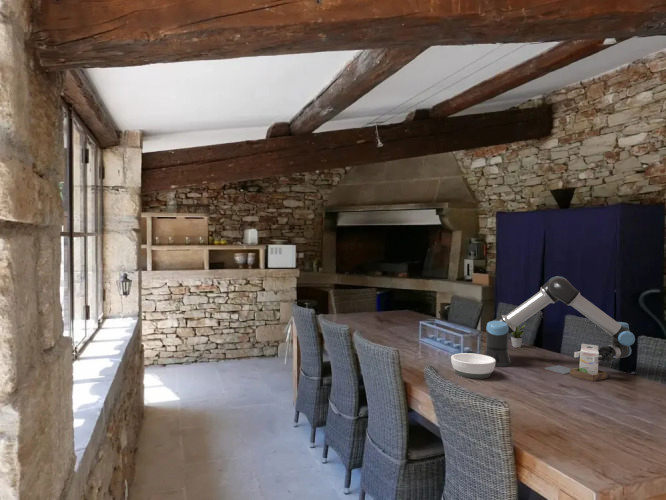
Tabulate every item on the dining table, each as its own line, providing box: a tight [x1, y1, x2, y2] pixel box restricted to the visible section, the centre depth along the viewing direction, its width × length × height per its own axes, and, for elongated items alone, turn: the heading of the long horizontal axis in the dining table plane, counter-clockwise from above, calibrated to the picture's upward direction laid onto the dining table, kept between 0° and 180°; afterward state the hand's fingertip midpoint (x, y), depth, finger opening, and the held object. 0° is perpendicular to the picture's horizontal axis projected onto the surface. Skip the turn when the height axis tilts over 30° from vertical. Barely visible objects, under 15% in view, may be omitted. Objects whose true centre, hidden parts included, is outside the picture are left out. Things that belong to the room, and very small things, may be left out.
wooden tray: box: [569, 366, 608, 382], centre depth 255 cm, size 12×12×3 cm
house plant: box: [510, 323, 526, 348], centre depth 323 cm, size 14×14×16 cm
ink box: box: [579, 343, 600, 375], centre depth 255 cm, size 9×5×15 cm, turn 62°
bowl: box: [450, 352, 496, 380], centre depth 257 cm, size 22×22×8 cm
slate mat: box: [543, 364, 571, 375], centre depth 267 cm, size 12×12×1 cm
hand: (584, 357), depth 253 cm, fingers closed on ink box, 9 cm apart
